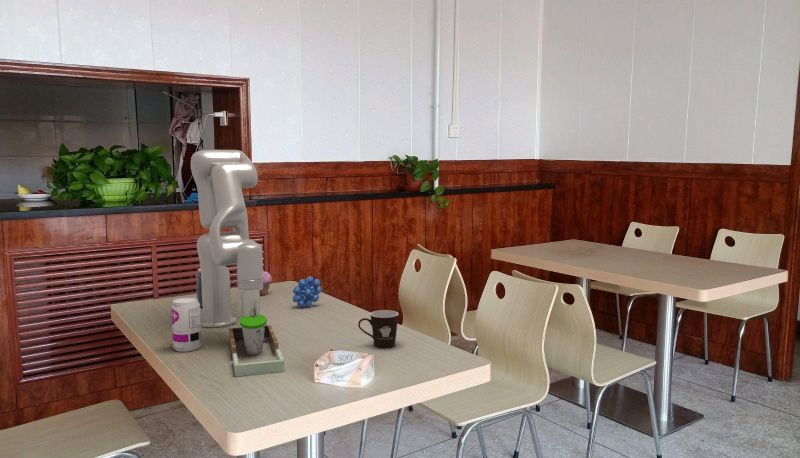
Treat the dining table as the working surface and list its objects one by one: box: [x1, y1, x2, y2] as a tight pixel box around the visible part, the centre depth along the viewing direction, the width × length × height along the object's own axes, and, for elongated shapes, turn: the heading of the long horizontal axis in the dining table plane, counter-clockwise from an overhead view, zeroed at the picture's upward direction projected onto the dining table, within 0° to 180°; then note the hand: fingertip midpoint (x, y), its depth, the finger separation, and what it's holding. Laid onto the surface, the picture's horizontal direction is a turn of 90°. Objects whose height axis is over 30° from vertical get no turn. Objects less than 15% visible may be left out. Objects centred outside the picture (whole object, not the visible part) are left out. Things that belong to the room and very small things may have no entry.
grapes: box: [292, 275, 323, 308], centre depth 240 cm, size 12×7×12 cm, turn 115°
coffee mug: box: [357, 309, 399, 350], centre depth 193 cm, size 12×9×10 cm
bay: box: [232, 348, 285, 377], centre depth 173 cm, size 10×13×3 cm
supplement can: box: [170, 296, 203, 353], centre depth 190 cm, size 8×8×15 cm
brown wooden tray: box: [228, 324, 279, 361], centre depth 190 cm, size 20×13×4 cm, turn 18°
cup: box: [239, 300, 268, 356], centre depth 184 cm, size 8×8×15 cm
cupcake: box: [260, 270, 273, 296], centre depth 261 cm, size 9×9×10 cm
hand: (252, 342), depth 192 cm, fingers closed
